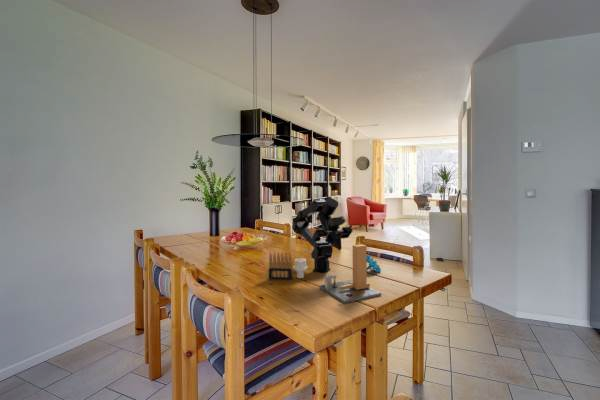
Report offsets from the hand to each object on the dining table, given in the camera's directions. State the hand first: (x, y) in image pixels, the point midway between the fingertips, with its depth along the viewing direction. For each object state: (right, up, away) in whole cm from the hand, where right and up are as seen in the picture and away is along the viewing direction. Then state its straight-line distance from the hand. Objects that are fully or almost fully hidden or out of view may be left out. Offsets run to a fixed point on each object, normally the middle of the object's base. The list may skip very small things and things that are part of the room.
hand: (340, 249), depth 127 cm
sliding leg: (+3, -13, -13) cm, 19 cm away
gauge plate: (+2, -14, -13) cm, 20 cm away
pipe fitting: (-17, -14, +5) cm, 23 cm away
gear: (+18, -13, +13) cm, 26 cm away
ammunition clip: (-26, -14, +3) cm, 30 cm away
